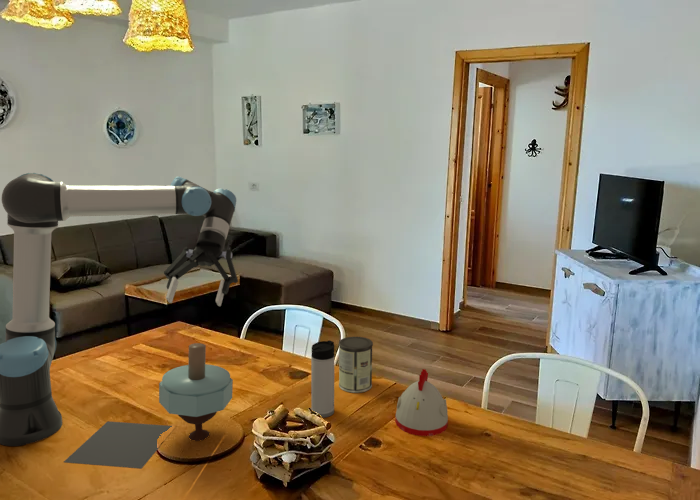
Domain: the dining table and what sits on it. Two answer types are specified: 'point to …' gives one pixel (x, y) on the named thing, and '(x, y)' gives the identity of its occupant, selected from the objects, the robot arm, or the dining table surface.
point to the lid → (195, 386)
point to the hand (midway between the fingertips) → (193, 302)
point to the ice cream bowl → (198, 425)
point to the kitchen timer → (422, 409)
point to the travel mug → (322, 378)
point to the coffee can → (355, 364)
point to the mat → (119, 445)
